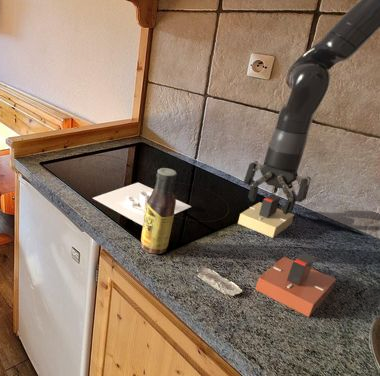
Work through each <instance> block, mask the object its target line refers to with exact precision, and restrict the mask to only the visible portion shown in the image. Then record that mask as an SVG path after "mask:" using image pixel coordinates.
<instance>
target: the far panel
mask: <svg viewBox="0 0 380 376" xmlns="http://www.w3.org/2000/svg"><path fill="white" fill-rule="evenodd" d="M261 206H262V202H258V203H256V204H254V205H252V206H249V208H247V209H245V210H244V211H242V212H240V213H239V217H238V221H237V224H238V225H240V226H243V227H245V228H248V229H250V230H252V231H255V232H257V233H260V234H262V235H265V236H267V237H269V238H272V239H273V238H275V237H276V236H278V235H279V234H280V233H282V232H283V231H284V230H286V229H287V228H288V227H289V226H291V225H292V223H293V220H294V216H295V213H291V212H290V213H288V214H283V211H284V209H280V208H277V210H276V213H274V214H273V215H271V216H270V217H268V218H265V217H263V216H260V215H259V213H260V209H261Z"/></svg>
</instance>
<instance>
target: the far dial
mask: <svg viewBox="0 0 380 376" xmlns="http://www.w3.org/2000/svg"><path fill="white" fill-rule="evenodd" d="M280 200H281V197H280V196H277V195H276V194H270V195H268V196H267V197H264V198H263V200H262V202H261V203H262V206H261V209H260V213H259V215H260V216H263V217H265V218H268V217H270V216H271V215H273V214H274V213H276V210H277V209H278V207H279V203H280Z"/></svg>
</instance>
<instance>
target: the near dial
mask: <svg viewBox="0 0 380 376" xmlns="http://www.w3.org/2000/svg"><path fill="white" fill-rule="evenodd" d="M315 260H316V257H314V256H312V255H310V254H307V253H305V252H302V253H301V254H300V255H299V256H297V258H296V259H295V260H293V264H292V266H291V269H290V272H289V275H288V278H287V281H289V282H291V283H293V284H296V285H298V286H299V285H300V284H301V283H302V282H303V281H304V280H305V279H306V278H307V277H308V276H309V273H310V270H311V269H313V268H312V267H313V265H314V262H315Z"/></svg>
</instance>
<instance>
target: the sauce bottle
mask: <svg viewBox="0 0 380 376" xmlns="http://www.w3.org/2000/svg"><path fill="white" fill-rule="evenodd" d="M176 179H177V172H176V170H174V169H173V168H168V167H161V168H159V169H157V173H156V181H155V185H154V188H153V189H154V190H153V192H152V194H151V195H150V197H149V199H148V201H147V205H146V211H145V216H144V223H143V226H142V230H141V236H140V241H141V242H140V247H141V248H142V250H143V251H145V252H146V253H148V254H151V255H152V254H153V255H161V254H164V253H165V252H167V249H168V247H169V242H170V238H171V237H170V236H171V232H172V227H173V222H174V217H175V214H174V210H175V205H176V200H177V199H176V196H175V194H174V186H175V182H176Z"/></svg>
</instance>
